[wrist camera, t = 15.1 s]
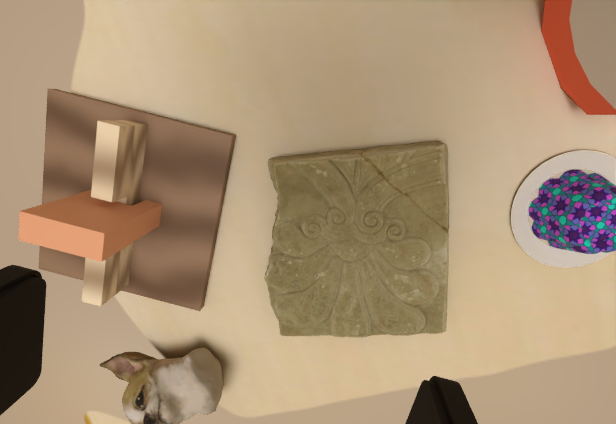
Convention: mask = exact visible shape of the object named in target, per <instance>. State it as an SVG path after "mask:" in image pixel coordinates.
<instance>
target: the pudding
mask: <svg viewBox="0 0 616 424" xmlns="http://www.w3.org/2000/svg"><path fill="white" fill-rule="evenodd" d="M570 169H587V170H591V171H594V172H596V173H598V174H596V173H593V174H589V175H587V174H586V173H584V172H583V171H581V170H570ZM565 170H570V171H566V172H564V174H563V175H562V176H561V177H560V178H559V179H549V180H547V179H548V178H550V177H552V176H553V175H555V174H557V173H560V172H562V171H565ZM599 174H600V175H599ZM601 175H602V176H601ZM546 180H547V181H546ZM545 181H546V182H545ZM543 182H544V183H543ZM542 183H543V184H542ZM541 184H542V186H541V187H540V188H539V197H537V198H536V199H535V200H533V201H532V202H531V204H530V201H531V199H532V196H533V194H534V193H535V192H536V190H537V189H538V187H539V186H540V185H541ZM529 204H530V207H529ZM528 207H529V216H530V217H531V218H532V219H533V220H534V222H533V225H532V230H533V232H532V230H531V229H530V226H529V222H528ZM511 226H512V231H513V234H514V237H515V239H516V241H517V242H518V244H519V246H520V247H521V248H522V249H523V251H524V252H525V253H526V254H528V255H529V256H530V257H531V258H533V259H534V260H536V261H538V262H540V263H542V264H545V265H549V266H552V267H559V268H574V267H579V266H585V265H588V264H591V263H594V262H596V261H598V260H600V259H602V258H604V257H606V256H607V255H609V254H610V253H612V252H613V251H615V250H616V158H615V157H613V156H611V155H609V154H606V153H603V152H600V151H592V150H578V151H572V152H567V153H563V154H561V155H558V156H555V157H553V158H551V159H549V160H548V161H546V162H544V163H542V164H541V165H540V166H539V167H537V168H536V169H535V170H533V171H532V172H531V174H530V175H529V176H528V177H527V178H526V179H525V180H524V182H523V183H522V185H521V186H520V188H519V189H518V191H517V194H516V196H515V198H514V201H513V205H512V209H511ZM533 233H534V234H535V235H536V236H537V237H538V238H540V239H544V240H547V241H548V243H549V245H550V246H552V247H550V246H548V245H546V244H544V243H542V242H541V241H540V240H539V239H537V237H536V236H535V235H534V234H533ZM554 247H555V248H554Z"/></svg>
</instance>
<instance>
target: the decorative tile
mask: <svg viewBox="0 0 616 424" xmlns="http://www.w3.org/2000/svg"><path fill="white" fill-rule="evenodd" d="M268 166H269V171H270V176H271V179H272V181H273V185H274V188H275V190H276V191H277V193H278V198H277V199H278V210H277V212H276V214H275V216H276V220H275V224H274V227H273V232H272V239H273V246H272V248H271V255H270V257H269V266H268V268H267V272H266V273H265V278H264V279H265V281H266V282H267V285H268V290H269V294H270V301H271V306H272V308H273V310H274V313H275V315H276V317H277V318H278V320H279V328H280V335H282V336H322V335H332V336H336V337H367V336H371V335H386V334H388V335H415V334H420V333H430V334H437V333H443V332H445V331H446V322H447V289H448V229H449V196H448V151H447V145H446V144H444V143H441V142H439V141H431V142H420V143H411V144H403V145H389V146H380V147H372V148H366V149H354V150H340V151H329V152H322V153H313V154H304V155H293V156H285V157H276V158H272V159H269V161H268Z"/></svg>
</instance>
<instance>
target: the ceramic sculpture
mask: <svg viewBox="0 0 616 424" xmlns="http://www.w3.org/2000/svg"><path fill="white" fill-rule="evenodd" d="M100 366H101V367H105V368H107V369H109V370H111V371H112V372H113V373H114V374H115V375H116V376H117V377H118V378H119V379H121V380H125V381H127V382H129V384H128V386H127V388H126V390H125V392H124V395H123V398H122V403H123V409H124V412H125V414H126V416H127V418H128V419H129V421H130V422H131V423H132V424H179V423H181V422H183V421H185V420H187V419H189V418H190V417H192V416H193V415H195V414H204V415H208V414H211V413H212V412H214V411H216V407H217V405H218V403H219V401H220V398H221V394H222V389H223V380H222V369H221V364H220V362H219V361H218V360H217V358H216V357H214V356H213V354H212V353H211V352H210V351H209V350H208V349H206V348H197V349H194V350H193V351H191V352H190V353H188V354H187V355H185V356H184V357H181V358H173V359H162V360H158V359H155V358H153V357H150V356H147V355H145V354H141V353H139V352H125V353H122V354H119V355H116V356H114V357H112V358H111V359H109V360H107V361H106V362H104V363H101V364H100Z"/></svg>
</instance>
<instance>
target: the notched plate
mask: <svg viewBox="0 0 616 424" xmlns="http://www.w3.org/2000/svg"><path fill="white" fill-rule="evenodd" d="M161 210H162V204H160V203H156V202H153V201H149V200H144V201H142V202H140V203H137V204H135V205H133V206H131V205H127V204H123V203H119V202H115V201H114V202H108V201H105V200H101V199H97V198H93V197H91V190H88V191H85V192H82V193H78V194H75V195H72V196H69V197H65V198H62V199H59V200H55V201H52V202H49V203H45V204H42V205H39V206H36V207H32V208H29V209H26V210H22V211H20V219H19V240H20V241H24V242H28V243H32V244H36V245H39V246H43V247H47V248H51V249H54V250H58V251H62V252H66V253H70V254H73V255H77V256H81V257H85V258H89V259H92V260H96V261H100V262H102V261H104V260H106V259H107V258H109V257H110V256H112V255H114V254H115V253H117V252H118V251H120V250H122V249H123V248H125V247H126V246H128V245H130V244H131V243H133V242H134V241H136V240H138V239H139V238H141V237H142V236H144V235H146V234H147V233H149V232H150V231H152V230H154V229H155V228H157V227H159V224H160V217H161Z"/></svg>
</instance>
